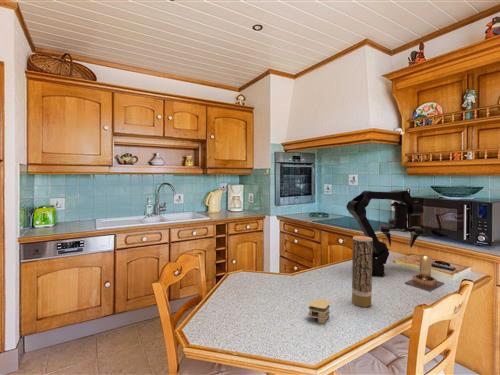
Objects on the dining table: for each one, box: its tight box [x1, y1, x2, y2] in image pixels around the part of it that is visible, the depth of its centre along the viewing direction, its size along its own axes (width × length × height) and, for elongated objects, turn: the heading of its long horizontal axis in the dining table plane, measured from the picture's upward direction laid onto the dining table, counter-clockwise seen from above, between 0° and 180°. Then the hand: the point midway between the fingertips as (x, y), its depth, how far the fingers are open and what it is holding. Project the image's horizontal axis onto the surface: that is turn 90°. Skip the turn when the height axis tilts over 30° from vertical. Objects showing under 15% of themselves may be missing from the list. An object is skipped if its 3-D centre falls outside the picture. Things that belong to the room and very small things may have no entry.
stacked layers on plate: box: [308, 298, 331, 324], centre depth 91 cm, size 10×9×6 cm
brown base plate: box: [404, 273, 445, 292], centre depth 120 cm, size 14×10×3 cm
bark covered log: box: [351, 235, 373, 308], centre depth 101 cm, size 7×7×25 cm
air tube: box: [418, 254, 433, 281], centre depth 119 cm, size 4×4×12 cm
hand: (400, 246), depth 134 cm, fingers open, 9 cm apart
